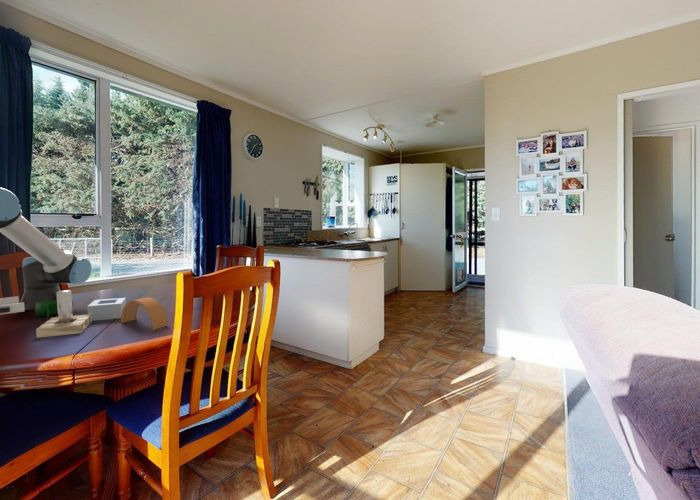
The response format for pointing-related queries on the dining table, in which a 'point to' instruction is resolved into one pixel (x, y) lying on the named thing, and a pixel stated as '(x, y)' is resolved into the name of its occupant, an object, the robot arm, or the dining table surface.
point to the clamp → (46, 308)
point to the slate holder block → (106, 308)
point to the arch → (150, 306)
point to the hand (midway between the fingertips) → (21, 303)
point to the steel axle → (64, 306)
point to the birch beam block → (64, 326)
